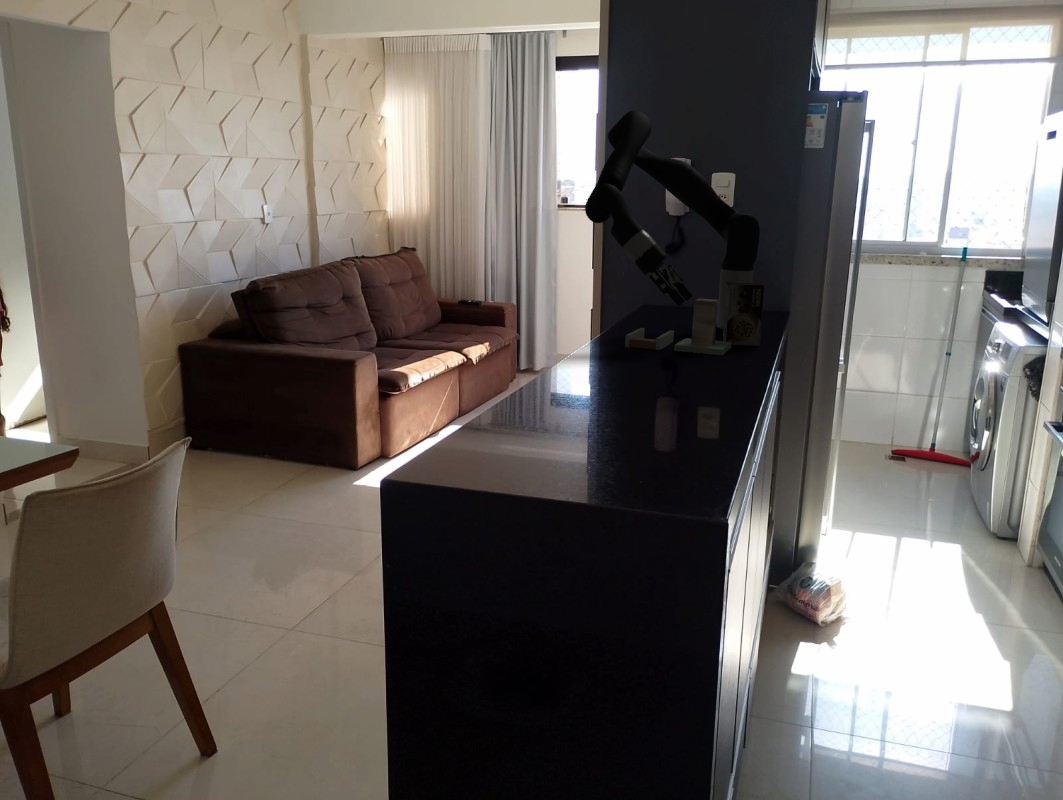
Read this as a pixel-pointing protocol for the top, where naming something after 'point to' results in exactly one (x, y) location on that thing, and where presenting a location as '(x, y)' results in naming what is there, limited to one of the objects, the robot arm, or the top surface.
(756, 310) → the coffee box
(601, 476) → the top surface
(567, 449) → the top surface
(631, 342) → the grey frame
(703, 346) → the pad
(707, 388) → the top surface
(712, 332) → the birch block
